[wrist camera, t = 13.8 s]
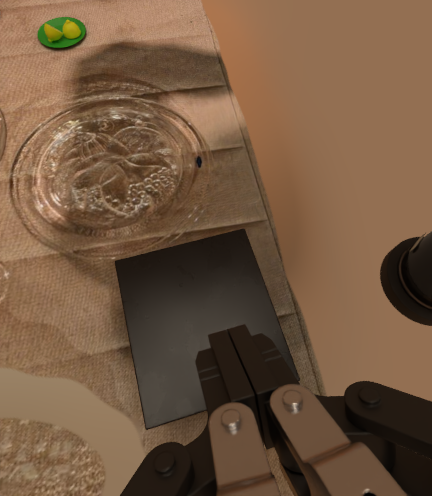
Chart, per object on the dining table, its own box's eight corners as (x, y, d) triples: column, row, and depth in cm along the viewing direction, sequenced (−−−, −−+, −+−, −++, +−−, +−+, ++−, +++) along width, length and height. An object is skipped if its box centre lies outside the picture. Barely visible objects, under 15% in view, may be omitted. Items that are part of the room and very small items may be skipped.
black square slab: (116, 263, 33) (114, 260, 33) (243, 231, 35) (244, 227, 34) (147, 429, 27) (145, 430, 27) (298, 381, 29) (300, 380, 28)
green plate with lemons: (59, 58, 58) (52, 41, 55) (29, 36, 60) (21, 19, 57) (96, 34, 60) (91, 18, 58) (66, 14, 62) (60, -3, 60)
